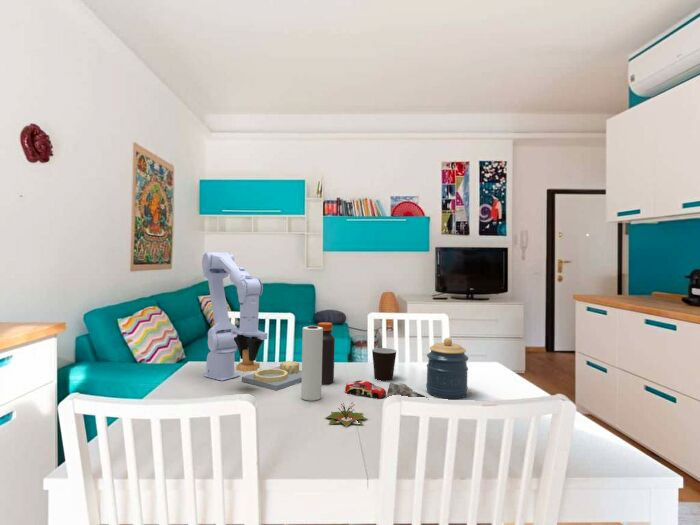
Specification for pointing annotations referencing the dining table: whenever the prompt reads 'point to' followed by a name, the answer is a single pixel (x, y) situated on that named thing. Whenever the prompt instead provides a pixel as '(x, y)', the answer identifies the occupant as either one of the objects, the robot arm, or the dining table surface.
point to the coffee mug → (383, 363)
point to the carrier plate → (274, 384)
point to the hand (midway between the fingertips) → (248, 359)
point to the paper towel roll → (312, 363)
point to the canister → (447, 370)
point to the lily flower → (345, 416)
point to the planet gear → (247, 363)
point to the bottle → (327, 353)
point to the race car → (365, 389)
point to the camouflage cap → (401, 390)
